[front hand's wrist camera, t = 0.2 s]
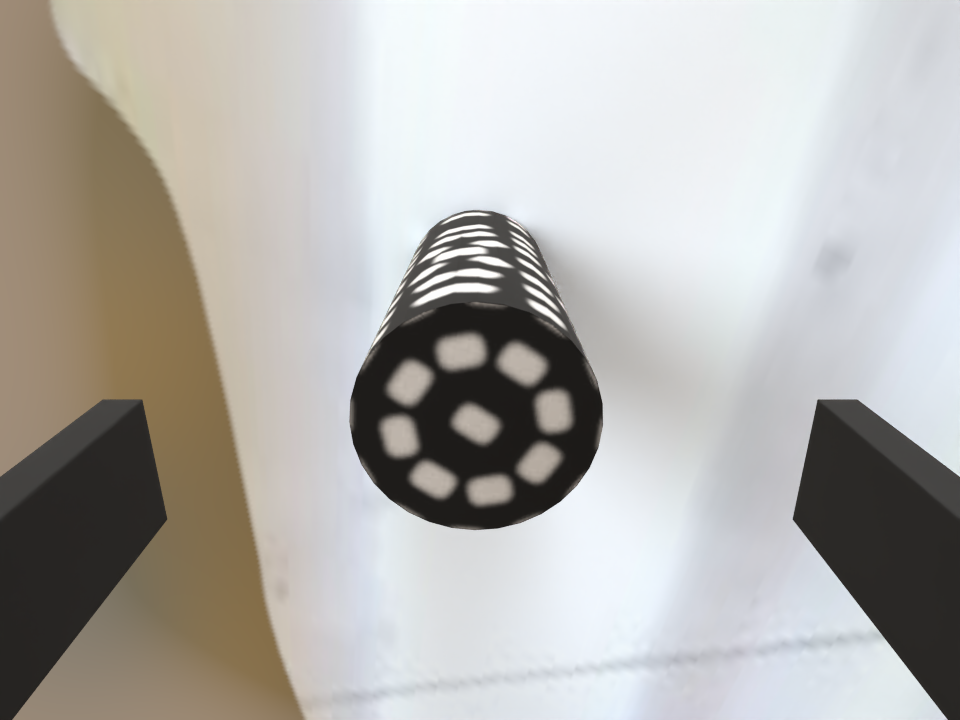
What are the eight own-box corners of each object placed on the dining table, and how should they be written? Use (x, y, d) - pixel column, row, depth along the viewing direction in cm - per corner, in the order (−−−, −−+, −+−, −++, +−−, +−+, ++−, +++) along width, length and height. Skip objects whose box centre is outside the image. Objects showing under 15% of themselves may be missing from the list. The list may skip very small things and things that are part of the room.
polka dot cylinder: (571, 261, 39) (655, 394, 21) (494, 364, 42) (505, 567, 23) (459, 181, 37) (440, 248, 19) (385, 294, 40) (303, 452, 21)
